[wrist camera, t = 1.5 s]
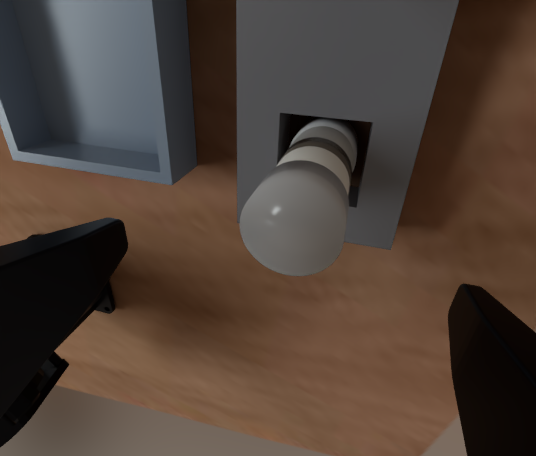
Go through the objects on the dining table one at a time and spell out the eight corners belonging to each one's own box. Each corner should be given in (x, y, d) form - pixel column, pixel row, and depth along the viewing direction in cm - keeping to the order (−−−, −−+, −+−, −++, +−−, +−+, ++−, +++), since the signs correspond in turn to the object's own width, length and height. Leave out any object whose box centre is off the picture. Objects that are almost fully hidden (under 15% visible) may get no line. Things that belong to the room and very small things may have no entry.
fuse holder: (389, 225, 19) (390, 250, 17) (251, 203, 21) (237, 223, 19) (515, -263, 10) (551, -336, 8) (259, -235, 12) (235, -290, 10)
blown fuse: (352, 179, 18) (335, 284, 11) (293, 170, 19) (239, 265, 11) (363, 117, 17) (353, 192, 9) (298, 111, 17) (239, 175, 10)
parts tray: (197, 165, 20) (172, 185, 18) (53, 145, 22) (13, 159, 20) (173, -189, 13) (125, -240, 11) (-37, -171, 15) (-118, -210, 13)
